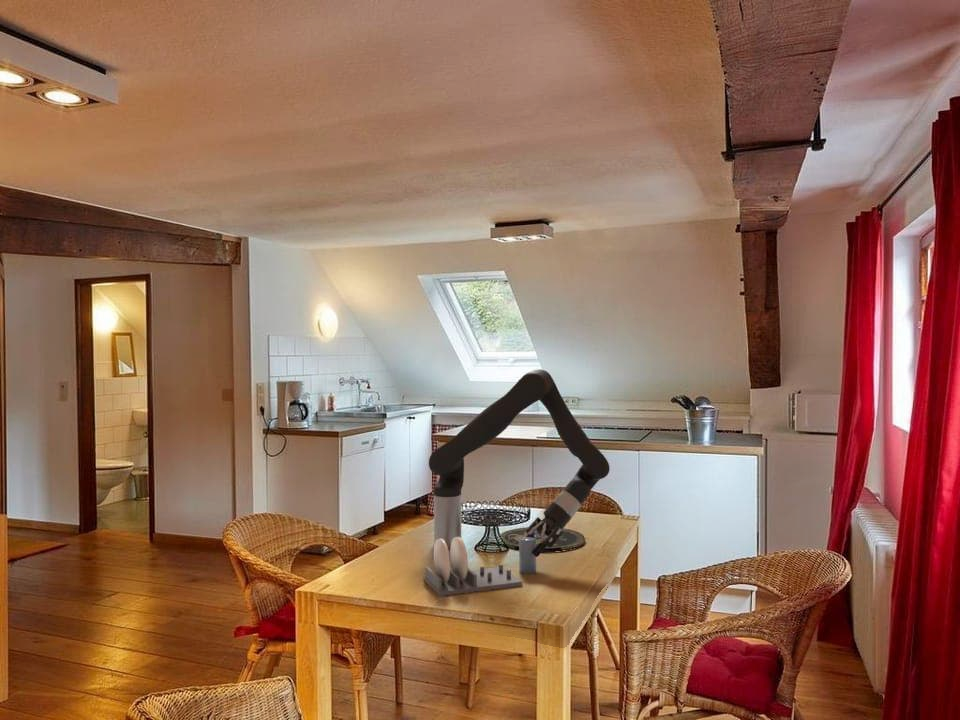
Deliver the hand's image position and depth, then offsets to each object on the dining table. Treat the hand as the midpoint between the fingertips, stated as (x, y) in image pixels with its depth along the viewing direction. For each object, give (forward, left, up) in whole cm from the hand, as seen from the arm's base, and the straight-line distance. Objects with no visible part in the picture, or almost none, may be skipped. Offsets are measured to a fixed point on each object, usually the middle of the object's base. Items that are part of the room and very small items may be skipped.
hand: (527, 551), depth 212 cm
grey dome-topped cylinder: (0, 0, -6) cm, 6 cm away
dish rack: (+4, -19, -6) cm, 20 cm away
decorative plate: (-30, +19, -7) cm, 36 cm away
